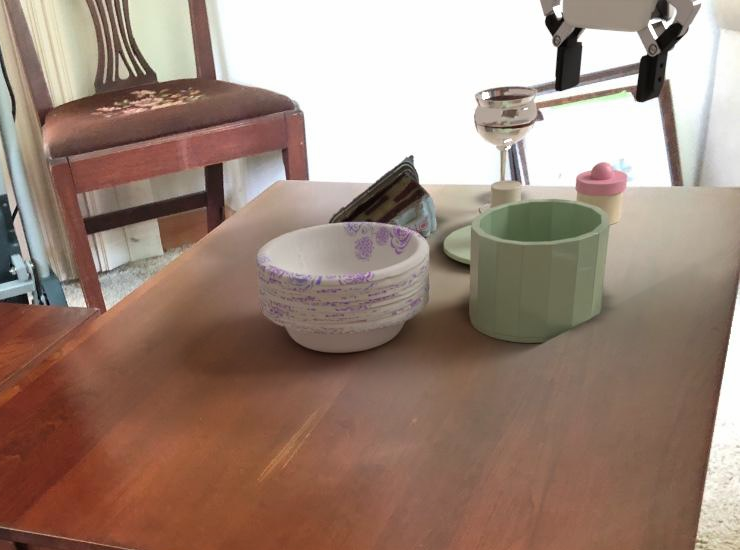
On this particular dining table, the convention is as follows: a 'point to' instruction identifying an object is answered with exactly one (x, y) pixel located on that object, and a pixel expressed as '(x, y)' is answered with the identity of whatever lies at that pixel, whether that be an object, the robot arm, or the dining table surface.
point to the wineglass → (505, 118)
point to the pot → (536, 268)
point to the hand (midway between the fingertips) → (605, 93)
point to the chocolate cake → (393, 202)
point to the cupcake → (603, 189)
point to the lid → (460, 239)
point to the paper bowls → (344, 283)
